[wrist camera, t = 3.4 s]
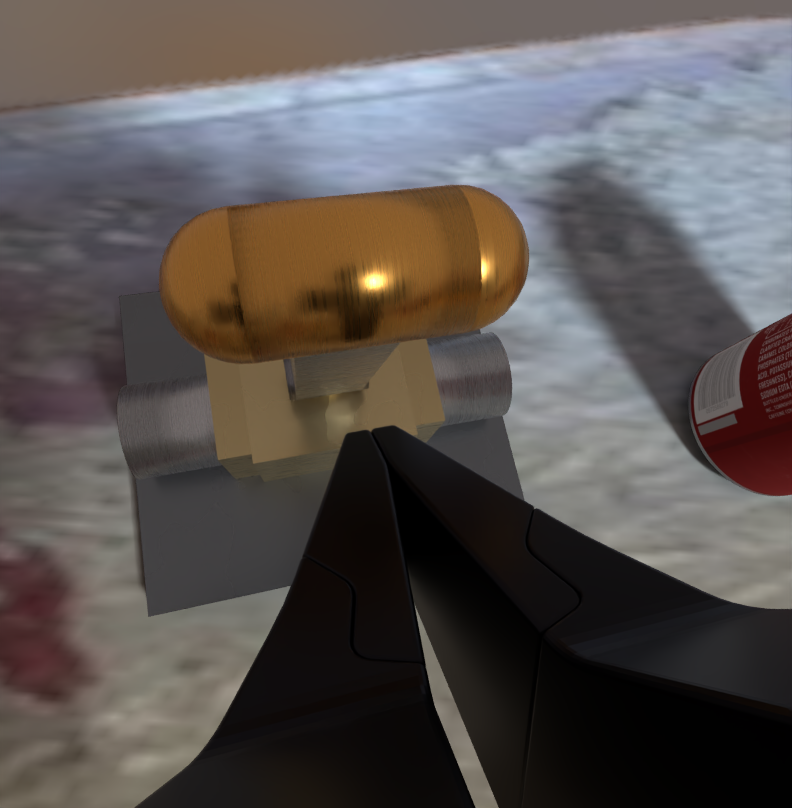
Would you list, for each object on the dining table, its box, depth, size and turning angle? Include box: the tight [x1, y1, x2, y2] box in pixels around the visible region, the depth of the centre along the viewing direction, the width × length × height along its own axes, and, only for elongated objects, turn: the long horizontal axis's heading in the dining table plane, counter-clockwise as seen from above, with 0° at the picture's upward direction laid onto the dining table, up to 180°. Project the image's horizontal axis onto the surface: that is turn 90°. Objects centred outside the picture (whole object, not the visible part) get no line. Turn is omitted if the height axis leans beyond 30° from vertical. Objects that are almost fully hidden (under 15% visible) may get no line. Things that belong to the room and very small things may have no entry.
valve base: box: [117, 291, 524, 617], centre depth 20 cm, size 12×14×5 cm
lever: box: [159, 185, 529, 401], centre depth 13 cm, size 2×5×11 cm, turn 102°
